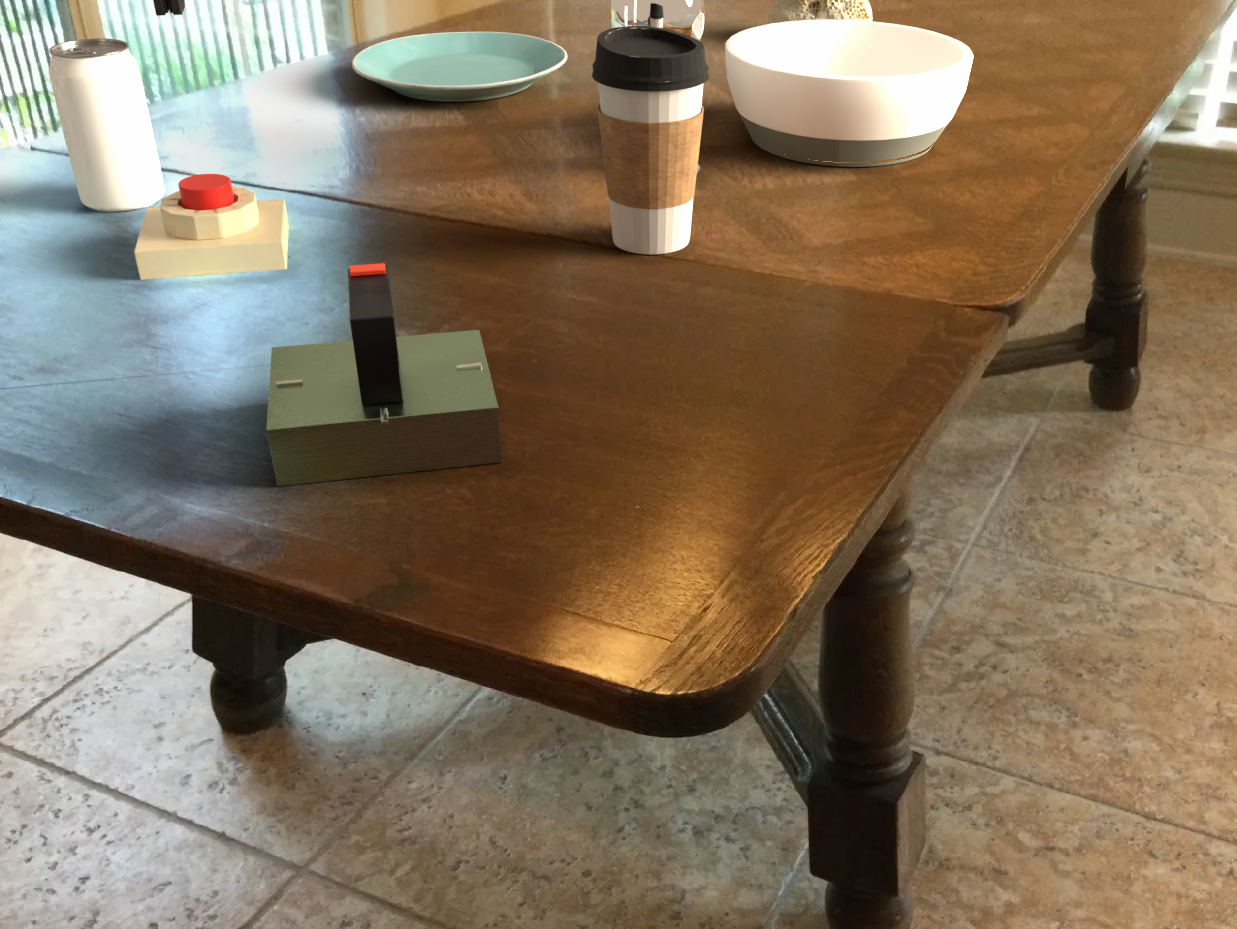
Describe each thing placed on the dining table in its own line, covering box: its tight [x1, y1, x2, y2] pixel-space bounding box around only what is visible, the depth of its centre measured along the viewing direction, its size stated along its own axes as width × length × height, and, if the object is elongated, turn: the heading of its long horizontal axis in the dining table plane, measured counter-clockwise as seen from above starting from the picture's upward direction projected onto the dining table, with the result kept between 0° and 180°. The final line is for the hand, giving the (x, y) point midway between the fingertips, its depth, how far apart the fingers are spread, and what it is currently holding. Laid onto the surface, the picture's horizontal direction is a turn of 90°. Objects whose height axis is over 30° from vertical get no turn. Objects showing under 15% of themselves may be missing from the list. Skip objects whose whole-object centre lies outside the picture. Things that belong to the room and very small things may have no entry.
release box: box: [133, 185, 290, 281], centre depth 96 cm, size 10×9×4 cm
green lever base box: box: [265, 329, 503, 487], centre depth 74 cm, size 12×11×4 cm
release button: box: [177, 173, 235, 211], centre depth 94 cm, size 4×4×2 cm
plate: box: [351, 31, 568, 103], centre depth 136 cm, size 22×22×3 cm
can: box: [48, 37, 166, 213], centre depth 102 cm, size 6×6×12 cm
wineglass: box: [609, 0, 706, 178], centre depth 108 cm, size 8×8×20 cm
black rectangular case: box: [347, 262, 403, 405], centre depth 71 cm, size 7×2×5 cm, turn 14°
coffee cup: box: [591, 26, 710, 256], centre depth 96 cm, size 8×8×15 cm
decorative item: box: [767, 0, 873, 24], centre depth 154 cm, size 12×9×10 cm
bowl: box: [724, 20, 974, 168], centre depth 120 cm, size 22×22×8 cm
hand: (171, 10), depth 87 cm, fingers closed
